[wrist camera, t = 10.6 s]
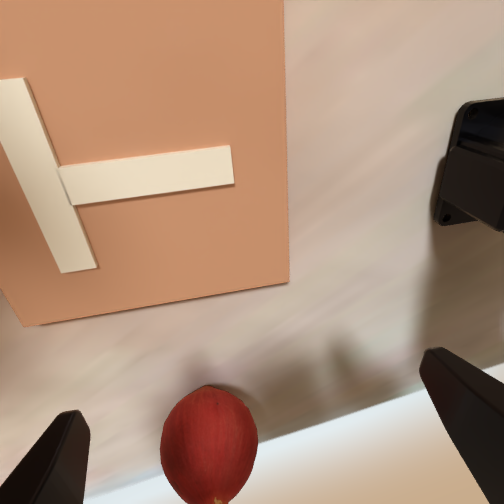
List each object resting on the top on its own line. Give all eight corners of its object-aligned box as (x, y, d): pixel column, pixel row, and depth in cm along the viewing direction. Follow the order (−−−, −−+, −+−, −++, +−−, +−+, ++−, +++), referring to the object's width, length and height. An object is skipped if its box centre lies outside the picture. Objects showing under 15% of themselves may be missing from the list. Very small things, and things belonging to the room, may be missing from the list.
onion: (223, 420, 26) (237, 551, 19) (150, 408, 24) (137, 551, 17) (260, 370, 24) (292, 498, 17) (184, 351, 22) (185, 491, 15)
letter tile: (275, -44, 12) (284, -53, 11) (284, 271, 20) (290, 284, 19) (-157, -18, 11) (-195, -25, 10) (31, 314, 18) (21, 331, 17)
